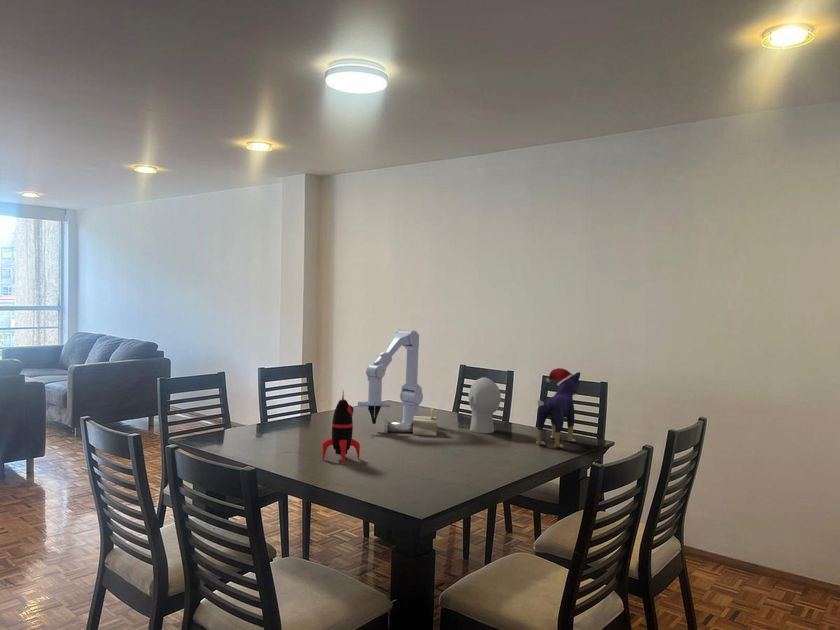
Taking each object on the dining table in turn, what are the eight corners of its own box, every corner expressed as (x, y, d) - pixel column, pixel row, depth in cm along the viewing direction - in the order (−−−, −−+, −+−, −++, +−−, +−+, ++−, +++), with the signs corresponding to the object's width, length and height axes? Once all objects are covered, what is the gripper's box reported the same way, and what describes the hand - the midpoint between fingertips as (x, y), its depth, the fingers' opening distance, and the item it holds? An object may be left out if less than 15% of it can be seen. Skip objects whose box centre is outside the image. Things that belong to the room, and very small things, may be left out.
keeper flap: (430, 416, 275) (430, 407, 275) (432, 416, 275) (432, 407, 275) (430, 419, 268) (431, 410, 268) (433, 419, 268) (433, 410, 268)
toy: (585, 437, 272) (587, 369, 271) (550, 455, 239) (553, 377, 238) (550, 432, 281) (552, 365, 280) (512, 448, 248) (515, 373, 247)
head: (488, 420, 293) (495, 371, 285) (500, 439, 277) (507, 388, 269) (458, 420, 290) (465, 371, 282) (469, 440, 273) (476, 388, 266)
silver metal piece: (384, 429, 275) (385, 416, 275) (417, 430, 275) (417, 417, 275) (384, 433, 268) (384, 419, 268) (417, 433, 268) (418, 420, 268)
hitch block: (412, 429, 277) (413, 415, 276) (435, 430, 277) (435, 416, 277) (412, 434, 267) (413, 420, 266) (436, 435, 267) (436, 421, 267)
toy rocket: (342, 464, 216) (344, 392, 215) (320, 459, 222) (322, 389, 221) (361, 459, 224) (363, 389, 224) (339, 454, 230) (341, 386, 229)
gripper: (357, 393, 267) (356, 424, 267) (391, 394, 267) (390, 425, 267) (358, 390, 274) (358, 421, 274) (391, 391, 274) (390, 422, 274)
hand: (374, 423), depth 271 cm, fingers closed
